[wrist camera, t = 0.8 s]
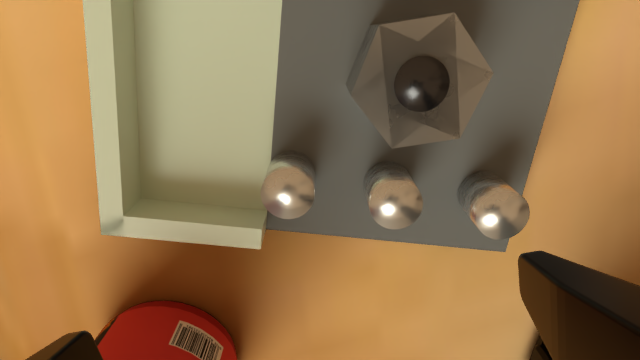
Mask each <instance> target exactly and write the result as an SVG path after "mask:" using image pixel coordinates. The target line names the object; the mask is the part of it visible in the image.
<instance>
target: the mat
mask: <svg viewBox="0 0 640 360" xmlns="http://www.w3.org/2000/svg"><path fill="white" fill-rule="evenodd" d="M578 4H579V0H282V11H281V25H280V39H279V53H278V67H277V81H276V95H275V109H274V123H273V137H272V151H271V161H272V160H273V158H274V157H276V156H277V155H278V154H280V153H283V152H286V151H296V152H299V153H302V154H304V155H305V156H307V157H308V158H309V159H310V161H311V162H312V164H313V166H314V169H315V194H314V201H313V204H312V206H311V208H310V209H309V210H308V211H307V212H306V213H305V214H304V215H302V216H300V217H298V218H294V219H282V218H279V217H276V216H274V215H272V214H271V213H270V212H269V211H268V210H267V221H266V229H270V230H280V231H291V232H301V233H312V234H322V235H333V236H343V237H354V238H364V239H375V240H385V241H395V242H406V243H416V244H427V245H437V246H448V247H458V248H469V249H479V250H490V251H500V252H505V251H506V248H507V245H508V241H509V238H507V239H500V240H499V239H492V238H489V237H487V236H485V235H484V234H483V233H482V232H481V231H480V230H479V229H478V228H477V226H476V225H475V224H474V222H473V221H472V220H471V219H470V217H469V216H468V215H467V213H466V212H465V211H464V210H463V208H462V207H461V206H460V204H459V202H458V199H457V192H458V188H459V186H460V184H461V182H462V181H463V180H464V179H465V178H466V177H467V176H469V175H470V174H472V173H475V172H478V171H489V172H492V173H494V174H496V175H497V176H498V177H500V178H501V179H502V180H503V181H504V182H506V183H507V184H508V185H509V186H510V187H511V188H513V189H514V190H515V191H516V192H517V193H519V194H520V195H521V196H522V194H523V190H524V187H525V184H526V180H527V177H528V173H529V170H530V167H531V163H532V160H533V156H534V153H535V150H536V146H537V143H538V139H539V136H540V133H541V129H542V126H543V122H544V119H545V116H546V112H547V109H548V106H549V102H550V99H551V95H552V92H553V89H554V85H555V82H556V78H557V75H558V72H559V68H560V65H561V61H562V58H563V55H564V51H565V48H566V44H567V41H568V38H569V34H570V31H571V27H572V24H573V21H574V17H575V14H576V11H577V7H578ZM444 13H455V14H456V15H457V17H458V19H459V20H460V22H461V23H462V25H463V26H464V28H465V29H466V31H467V32H468V34H469V36H470V37H471V39H472V40H473V42H474V43H475V45H476V46H477V48H478V50H479V51H480V53H481V54H482V56H483V57H484V59H485V60H486V62H487V63H488V65H489V67H490V68H491V70H492V71H493V75H492V77H491V79H490V81H489V83H488V85H487V87H486V89H485V91H484V93H483V95H482V97H481V99H480V101H479V102H478V104H477V106H476V108H475V110H474V112H473V114H472V116H471V118H470V120H469V122H468V124H467V126H466V128H465V130H464V132H463V134H462V135H461V137H460V139H453V140H446V141H440V142H433V143H426V144H419V145H413V146H406V147H399V148H393V149H392V148H391V147H390V146H389V144H388V143H387V142H386V141H385V139H384V138H383V137H382V135H381V134H380V133H379V131H378V130H377V129H376V128H375V126H374V125H373V124H372V122H371V121H370V120H369V119H368V117H367V116H366V115H365V113H364V112H363V111H362V110H361V108H360V107H359V106H358V104H357V103H356V102H355V100H354V99H353V98H352V97H351V95H350V93H349V91H348V89H347V86H346V83H347V80H348V78H349V75H350V73H351V70H352V68H353V65H354V63H355V60H356V58H357V55H358V53H359V50H360V48H361V45H362V43H363V40H364V38H365V35H366V33H367V30H368V28H369V25H372V24H378V23H385V22H391V21H397V20H403V19H409V18H415V17H421V16H427V15H433V14H444ZM383 161H393V162H396V163H399V164H400V165H402V166H403V167H404V168H405V169H406V170H407V172H408V173H409V175H410V177H411V178H412V180H413V182H414V183H415V185H416V187H417V188H418V190H419V191H420V193H421V195H422V199H423V208H422V212H421V214H420V216H419V217H418V219H417V220H416V221H415V222H414V223H412V224H411V225H409V226H407V227H405V228H402V229H388V228H384V227H382V226H381V225H379V224H378V223H377V222H376V221H375V220H374V219H373V217H372V215H371V213H370V209H369V205H368V202H367V198H366V194H365V191H364V185H363V183H364V178H365V175H366V173H367V172H368V170H369V169H370V168H371V167H372V166H374V165H375V164H377V163H380V162H383Z"/></svg>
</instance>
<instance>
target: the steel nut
mask: <svg viewBox="0 0 640 360" xmlns="http://www.w3.org/2000/svg"><path fill="white" fill-rule="evenodd" d="M492 75H493V71H492V70H491V68H490V67H489V65H488V63H487V62H486V60H485V59H484V57H483V56H482V54H481V53H480V51H479V50H478V48H477V46H476V45H475V43H474V42H473V40H472V39H471V37H470V36H469V34H468V32H467V31H466V29H465V28H464V26H463V25H462V23H461V22H460V20H459V19H458V17H457V15H456V14H455V13H444V14H433V15H427V16H421V17H415V18H409V19H403V20H397V21H391V22H385V23H378V24H372V25H369V28H368V30H367V33H366V35H365V38H364V40H363V43H362V45H361V48H360V50H359V53H358V55H357V58H356V60H355V63H354V65H353V68H352V70H351V73H350V75H349V78H348V80H347V83H346V86H347V89H348V91H349V93H350V95H351V97H352V98H353V99H354V100H355V102H356V103H357V104H358V106H359V107H360V108H361V110H362V111H363V112H364V113H365V115H366V116H367V117H368V119H369V120H370V121H371V122H372V124H373V125H374V126H375V128H376V129H377V130H378V131H379V133H380V134H381V135H382V137H383V138H384V139H385V141H386V142H387V143H388V144H389V146H390V147H391V148H392V149H393V148H399V147H406V146H413V145H419V144H426V143H433V142H440V141H446V140H453V139H460V137H461V135H462V134H463V132H464V130H465V128H466V126H467V124H468V122H469V120H470V118H471V116H472V114H473V112H474V110H475V108H476V106H477V104H478V102H479V101H480V99H481V97H482V95H483V93H484V91H485V89H486V87H487V85H488V83H489V81H490V79H491V77H492Z"/></svg>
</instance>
